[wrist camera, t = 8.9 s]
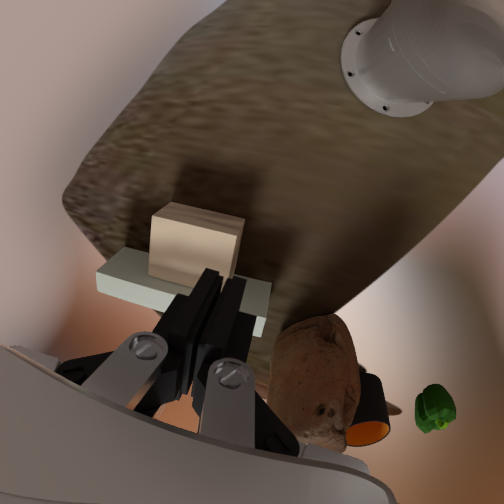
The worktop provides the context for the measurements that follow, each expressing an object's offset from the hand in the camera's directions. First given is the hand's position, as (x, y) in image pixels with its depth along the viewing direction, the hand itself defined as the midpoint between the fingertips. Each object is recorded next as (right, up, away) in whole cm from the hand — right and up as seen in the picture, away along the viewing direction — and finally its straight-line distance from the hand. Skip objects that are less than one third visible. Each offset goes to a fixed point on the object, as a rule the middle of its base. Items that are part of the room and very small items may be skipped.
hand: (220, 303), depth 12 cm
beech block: (-5, +4, +28) cm, 29 cm away
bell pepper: (+36, -25, +35) cm, 56 cm away
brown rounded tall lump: (+10, -10, +32) cm, 35 cm away
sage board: (-7, -1, +30) cm, 31 cm away
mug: (+19, -23, +37) cm, 47 cm away
